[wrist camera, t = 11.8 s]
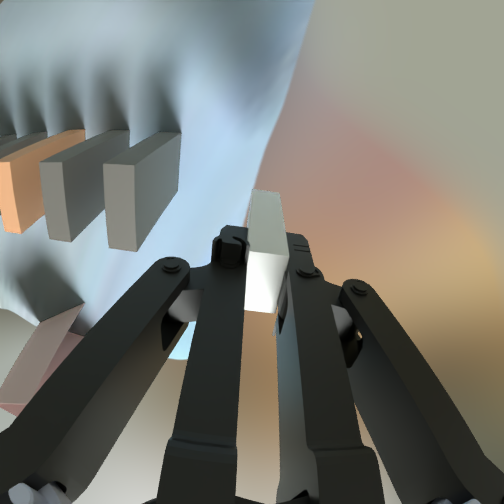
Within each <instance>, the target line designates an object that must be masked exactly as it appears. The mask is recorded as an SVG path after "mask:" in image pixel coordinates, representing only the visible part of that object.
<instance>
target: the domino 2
mask: <svg viewBox="0 0 504 504" xmlns="http://www.w3.org/2000/svg"><path fill="white" fill-rule="evenodd" d="M129 135H130V130H109V131H107V132H104V133H102V134H99V135H97V136H95V137H92V138H90V139H87V140H85V141H83V142H81V143H78V144H76V145H74V146H72V147H69V148H67V149H65V150H63V151H61V152H59V153H57V154H55V155H52V156H50V157H48V158H46V159H44V160H42V161H41V162H39V169H40V180H41V189H42V197H43V204H44V211H45V217H46V223H47V229H48V234H49V239H52V240H59V241H65V242H72V241H73V240H74V239H75V238H76V237H77V236H78V235H79V234H80V233H81V232H82V231H83V230H84V229H85V228H86V227H87V226H88V225H89V224H90V223H91V222H92V221H93V220H94V219H95V218H96V217H97V216H98V215H99V214H100V213H101V212H102V211H103V210H104V209H105V198H104V178H103V163H105V162H107V161H108V160H110V159H112V158H113V157H115V156H117V155H118V154H120V153H122V152H123V151H125V150H127V149H129Z"/></svg>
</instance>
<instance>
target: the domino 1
mask: <svg viewBox="0 0 504 504" xmlns="http://www.w3.org/2000/svg"><path fill="white" fill-rule="evenodd" d="M46 138H47V132H34V133H31V134H29V135H26V136H24V137H21V138H18V139H16V140H13V141H11V142H9V143H6V144H4V145H1V146H0V159H1V158H3V157H5V156H8V155H10V154H12V153H14V152H16V151H18V150H20V149H23V148H25V147H27V146H30V145H32V144H34V143H37V142H39V141H41V140H44V139H46ZM0 215H1V210H0Z"/></svg>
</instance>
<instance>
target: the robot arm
mask: <svg viewBox="0 0 504 504" xmlns="http://www.w3.org/2000/svg"><path fill="white" fill-rule="evenodd" d="M277 305H278V315H277V319H276V322H275V327H274V330H273V334H272V335H274V336H275V333H276V341H277V369H278V399H279V433H280V434H279V437H280V481H279V486H278V489H277V497H276V504H385V500H384V494H383V487H382V483H381V482H382V481H381V476H380V470H379V464H378V460H377V457H376V454H375V452H374V450H373V449H372V448H370V447H367V446H364V445H363V443H362V440H361V435H360V430H359V425H358V420H357V414H356V409H355V405H356V407H357V409H358V411H359V413H360V415H361V417H362V419H363V421H364V424H365V426H366V428H367V430H368V432H369V434H370V436H371V438H372V441H373V443H374V445H375V447H376V449H377V451H378V453H379V455H380V458H381V460H382V462H383V464H384V466H385V469H386V471H387V472H388V475H389V477H390V480H391V482H392V484H393V486H394V488H395V491H396V493H397V495H398V497H399V499H400V501H401V502H402V504H504V473H503V472H502V471H501V470H500V469H498V468H497V467H496V466H495V465H494V464H493V463H492V462H491V461H490V460H489V459H488V458H487V457H486V456H485V455H484V453H483V451H482V450H481V448H480V446H479V444H478V443H477V441H476V439H475V437H474V436H473V434H472V432H471V431H470V429H469V427H468V426H467V424H466V422H465V421H464V419H463V417H462V416H461V414H460V412H459V411H458V409H457V408H456V406H455V404H454V403H453V401H452V400H451V398H450V396H449V395H448V393H447V392H446V390H445V389H444V388H443V386H442V384H441V383H440V381H439V379H438V378H437V377H436V375H435V374H434V372H433V371H432V369H431V368H430V366H429V365H428V363H427V362H426V360H425V359H424V357H423V356H422V354H421V353H420V352H419V350H418V349H417V347H416V346H415V344H414V343H413V342H412V340H411V339H410V337H409V336H408V335H407V333H406V332H405V330H404V329H403V328H402V326H401V325H400V323H399V322H398V321H397V319H396V318H395V317H394V316H393V314H392V313H391V311H390V310H389V309H388V307H387V306H386V305H385V303H384V302H383V301H382V299H381V298H380V297H379V295H378V294H377V293H376V292H375V290H374V289H373V288H372V287H371V286H370V285H369V284H367V283H365V282H364V281H361V280H358V279H349V280H346V281H345V282H344V283H343V285H342V287H341V286H337V285H334V284H332V283H329V282H327V281H325V280H324V276H323V274H322V272H321V271H320V270H319V269H318V268H317V267H315V266H314V263H313V259H312V255H311V253H310V248H309V244H308V241H307V240H306V238H305V237H304V236H303V235H301V234H294V233H287V232H286V230H285V224H284V218H283V212H282V205H281V199H280V194H279V193H276V192H269V191H262V190H255V189H252V193H251V200H250V207H249V214H248V221H247V227H246V228H245V227H238V226H230V225H226V226H225V227H224V228H222V229H221V232H220V235H219V236H217V237H215V238H214V240H213V244H212V256H211V263H209V264H208V265H205V266H202V267H196V268H190V266H189V263H188V262H187V261H186V260H183V259H181V258H178V257H165V258H162V259H159V260H158V261H156V262H155V263H154V264H153V265H152V266H151V267H150V268H149V269H148V270H147V271H146V272H145V273H144V274H143V275H142V276H141V277H140V278H139V279H138V280H137V281H136V282H135V283H134V284H133V285H132V286H131V287H130V288H129V289H128V290H127V291H126V292H125V293H124V295H123V296H122V297H121V298H120V299H119V300H118V301H117V302H116V303H115V304H114V305H113V306H112V307H111V308H110V309H109V310H108V311H107V313H106V314H105V315H104V316H103V317H102V318H101V319H100V320H99V321H98V322H97V323H96V324H95V326H94V327H93V328H92V329H91V330H90V331H89V332H88V333H87V334H86V335H85V337H84V338H83V339H82V340H81V341H80V342H79V343H78V344H77V346H76V347H75V348H74V349H73V350H72V351H71V352H70V354H69V355H68V356H67V357H66V358H65V359H64V360H63V362H62V363H61V364H60V365H59V366H58V367H57V369H56V370H55V371H54V372H53V373H52V374H51V376H50V377H49V378H48V379H47V380H46V382H45V383H44V384H43V385H42V386H41V388H40V389H39V390H38V391H37V393H36V394H35V395H34V396H33V397H32V399H31V400H30V401H29V402H28V404H27V405H26V406H25V408H24V409H23V410H22V411H21V413H20V414H19V415H18V416H17V418H16V419H15V420H14V422H13V423H12V424H11V426H10V427H9V428H7V429H5V430H4V431H2V432H1V433H0V504H72V502H74V501H75V500H76V499H77V498H78V497H79V496H80V495H81V494H82V493H83V492H84V491H85V490H86V489H87V487H88V486H89V484H90V483H91V481H92V480H93V478H94V477H95V475H96V473H97V472H98V470H99V469H100V467H101V465H102V464H103V462H104V460H105V459H106V457H107V456H108V454H109V452H110V450H111V449H112V447H113V446H114V444H115V442H116V441H117V439H118V437H119V436H120V434H121V433H122V431H123V429H124V427H125V426H126V424H127V423H128V421H129V419H130V418H131V416H132V415H133V413H134V411H135V410H136V408H137V406H138V405H139V403H140V401H141V400H142V398H143V397H144V395H145V393H146V392H147V390H148V389H149V387H150V385H151V384H152V382H153V381H154V379H155V377H156V376H157V374H158V373H159V371H160V369H161V368H162V366H163V365H164V363H165V362H166V360H167V358H168V357H169V355H170V354H171V352H172V350H173V349H174V347H175V346H176V344H177V342H178V341H179V339H180V338H181V336H182V335H183V333H184V331H185V330H186V328H187V327H188V324H189V322H192V321H196V325H195V330H194V334H193V339H192V343H191V348H190V352H189V357H188V361H187V366H186V370H185V376H184V380H183V385H182V389H181V395H180V399H179V405H178V409H177V414H176V419H175V424H174V429H173V434H172V437H171V438H170V439H169V440H168V443H167V446H166V450H165V454H164V460H163V465H162V470H161V476H160V481H159V487H158V493H157V498H155V499H152V500H149V501H147V502H145V503H143V504H263V503H259V502H255V501H252V500H248V499H244V498H241V497H238V496H235V492H236V474H237V447H236V435H237V418H238V402H239V386H240V370H241V354H242V338H243V322H244V310H251V311H259V312H269V313H276V309H277ZM358 332H360V333H361V335H362V338H360V337H359V335H358ZM354 403H355V405H354Z"/></svg>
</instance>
